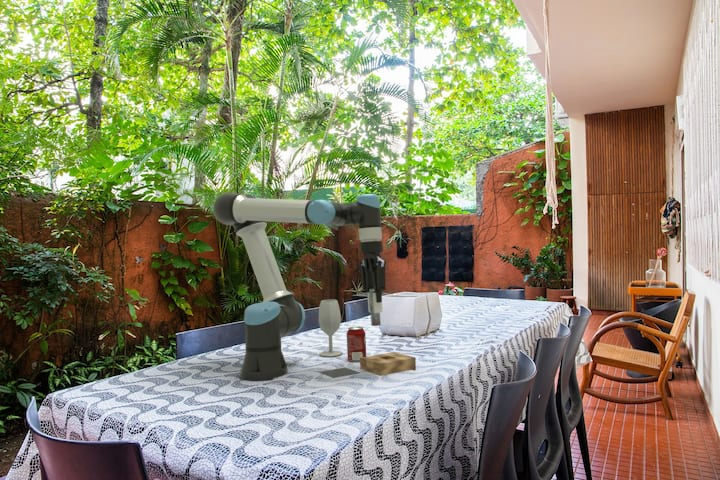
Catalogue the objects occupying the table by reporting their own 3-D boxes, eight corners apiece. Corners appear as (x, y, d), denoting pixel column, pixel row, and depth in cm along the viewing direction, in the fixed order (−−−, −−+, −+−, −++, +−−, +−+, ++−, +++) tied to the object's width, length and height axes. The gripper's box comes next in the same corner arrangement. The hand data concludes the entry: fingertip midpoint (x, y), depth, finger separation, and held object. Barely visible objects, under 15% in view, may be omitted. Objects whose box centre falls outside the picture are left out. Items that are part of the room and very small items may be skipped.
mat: (333, 379, 157) (333, 378, 157) (318, 373, 165) (318, 372, 165) (360, 374, 162) (360, 372, 162) (345, 368, 171) (345, 367, 171)
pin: (374, 326, 163) (372, 289, 164) (369, 325, 166) (367, 289, 166) (382, 325, 165) (379, 288, 165) (377, 324, 168) (375, 288, 168)
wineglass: (332, 358, 188) (330, 302, 188) (315, 356, 193) (313, 301, 193) (346, 353, 195) (344, 299, 195) (329, 351, 200) (327, 299, 200)
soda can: (364, 363, 177) (363, 329, 178) (345, 363, 179) (344, 329, 179) (368, 359, 184) (366, 326, 184) (350, 359, 185) (348, 326, 185)
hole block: (380, 376, 158) (380, 364, 158) (360, 369, 168) (360, 357, 168) (415, 369, 165) (415, 357, 165) (394, 363, 175) (394, 351, 175)
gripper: (393, 239, 161) (398, 312, 161) (368, 241, 175) (372, 309, 174) (374, 240, 158) (378, 315, 157) (349, 242, 171) (353, 311, 171)
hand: (375, 312), depth 166 cm, fingers closed on pin, 3 cm apart
